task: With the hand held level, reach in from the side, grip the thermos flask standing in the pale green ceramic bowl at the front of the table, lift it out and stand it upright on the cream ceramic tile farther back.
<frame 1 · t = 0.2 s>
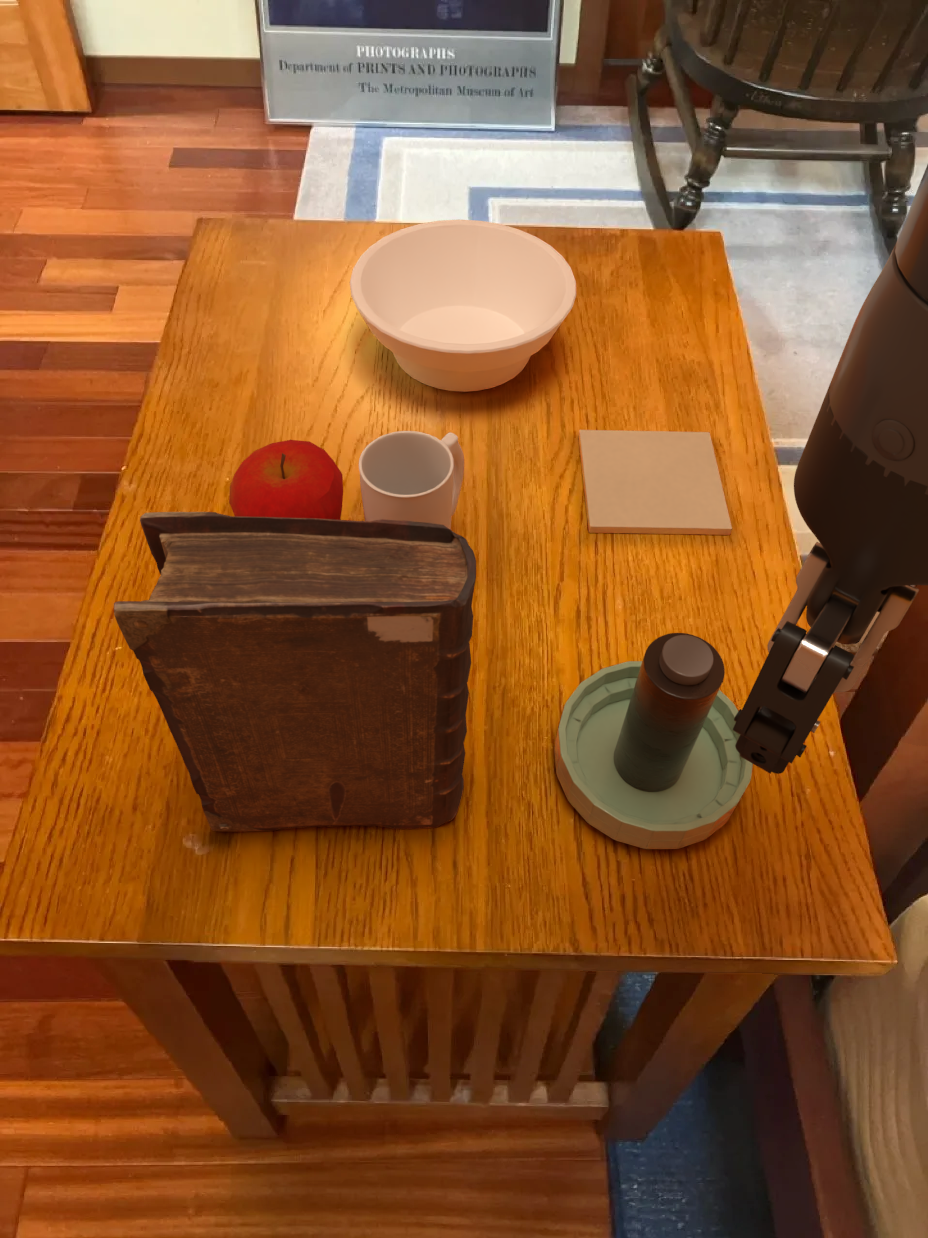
hand: (800, 691, 42), 23 cm above the table, tool pointing down, fingers open, 8 cm apart
thermos flask: (647, 761, 65), point 1 cm above the table, touching celadon bowl
book: (341, 801, 63), on the table
bowl: (461, 354, 93), on the table
tile: (650, 483, 82), on the table
celadon bowl: (646, 765, 65), on the table
mug: (422, 561, 76), on the table
apple: (300, 562, 76), on the table
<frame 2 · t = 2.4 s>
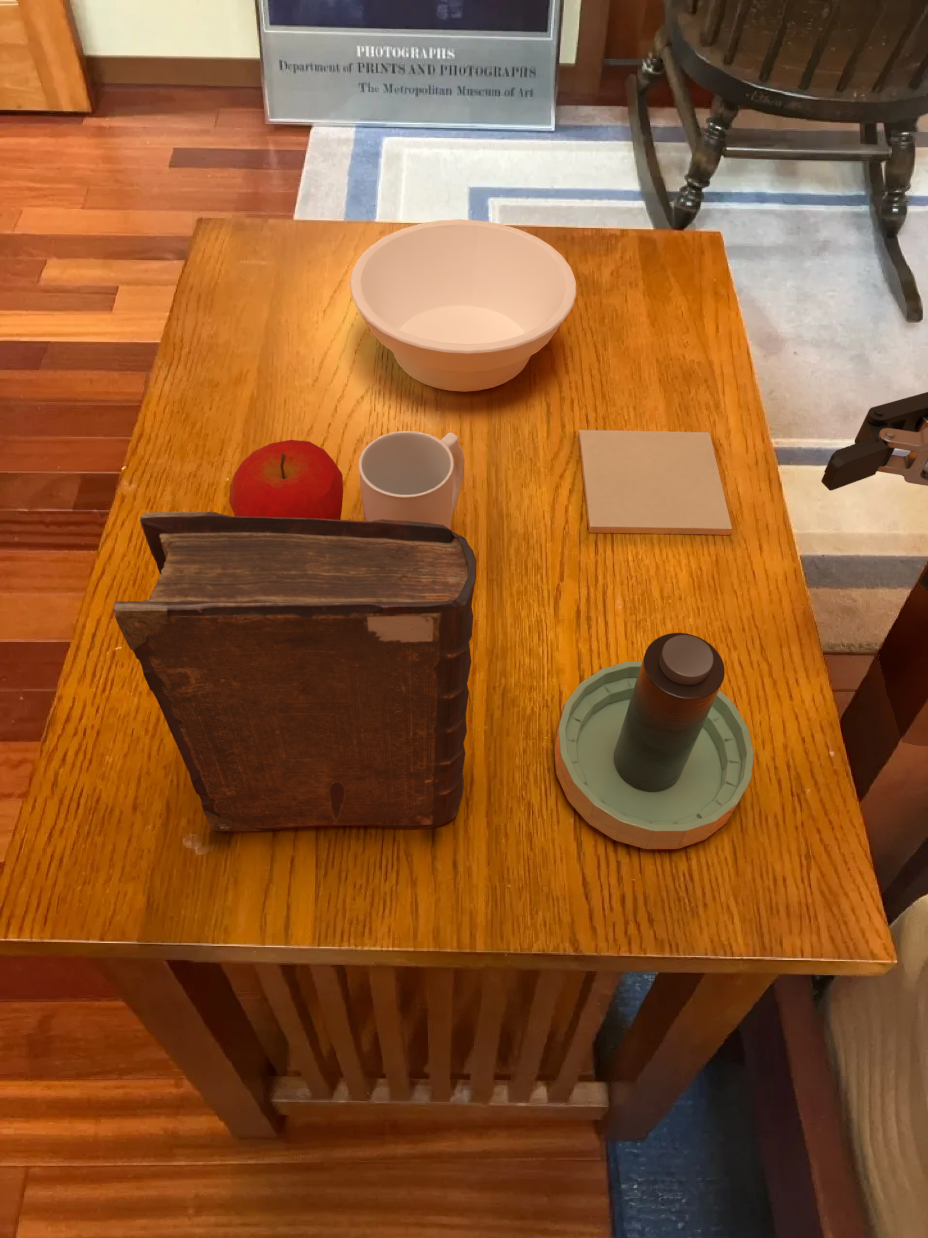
hand: (876, 524, 52), 20 cm above the table, tool horizontal, fingers open, 8 cm apart
nothing on the table moved.
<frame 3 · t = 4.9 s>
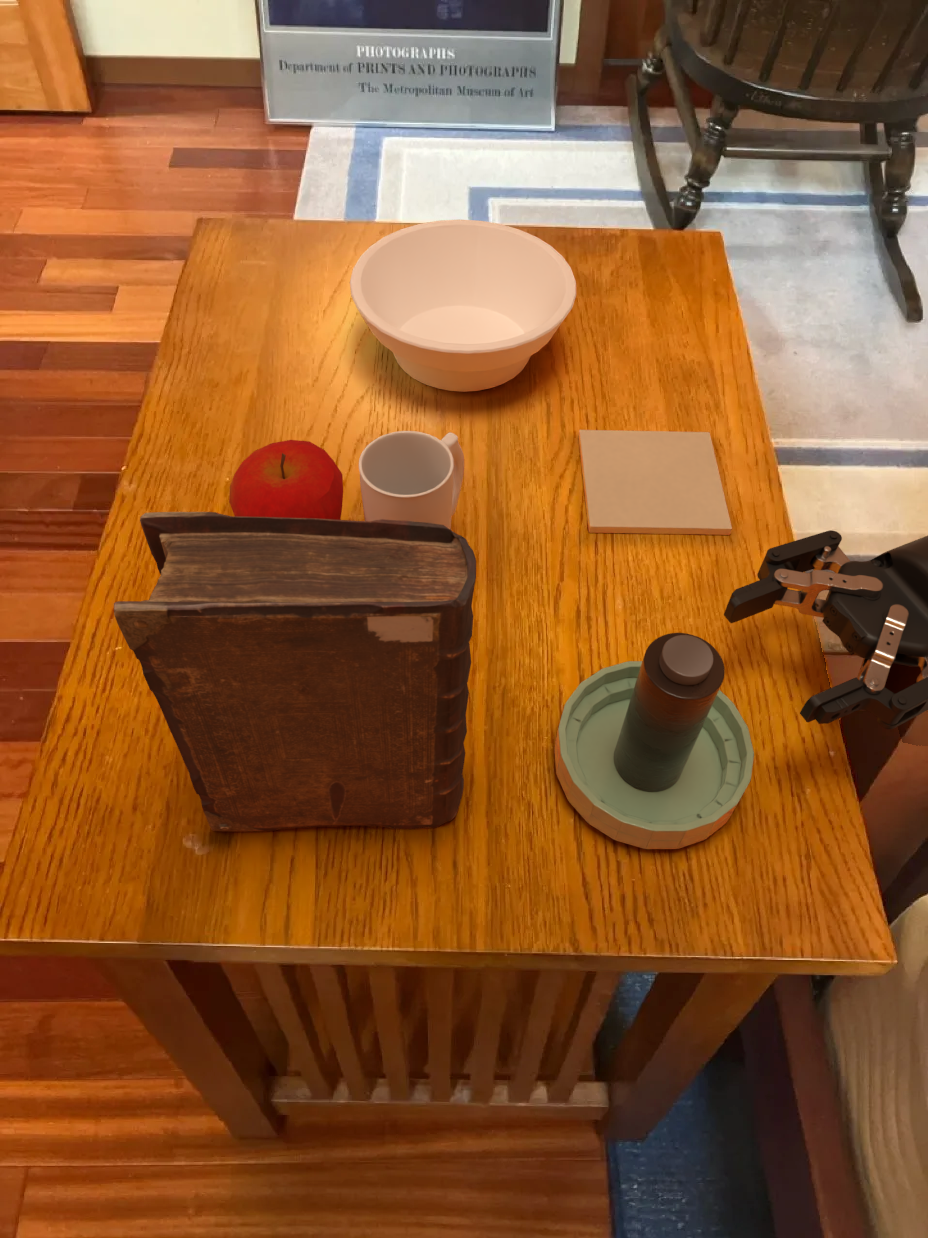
hand: (766, 659, 60), 9 cm above the table, tool horizontal, fingers open, 8 cm apart
nothing on the table moved.
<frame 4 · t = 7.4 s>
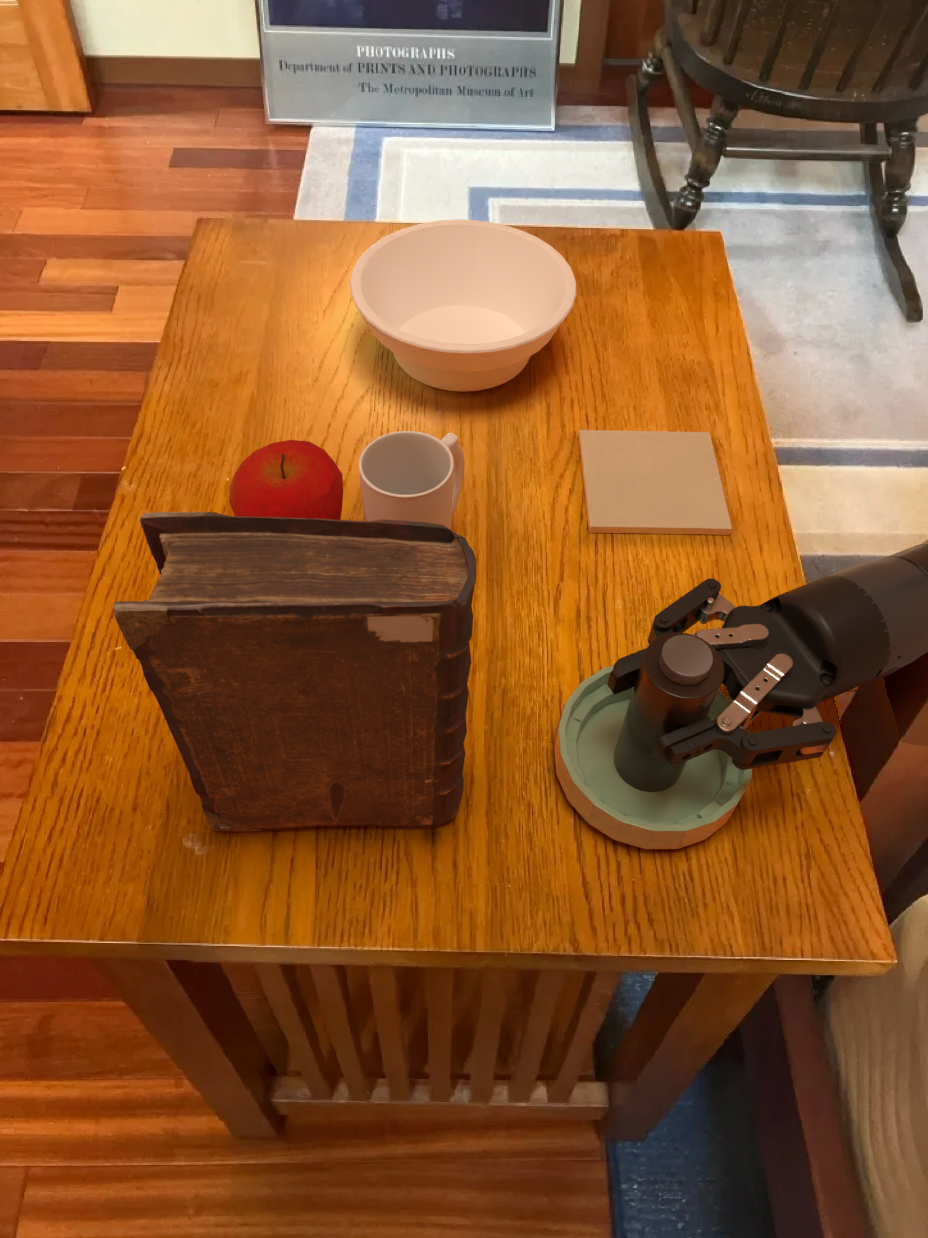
hand: (634, 716, 58), 9 cm above the table, tool horizontal, fingers closed on thermos flask, 5 cm apart
thermos flask: (647, 761, 65), point 1 cm above the table, touching celadon bowl, gripper
everything else where it was.
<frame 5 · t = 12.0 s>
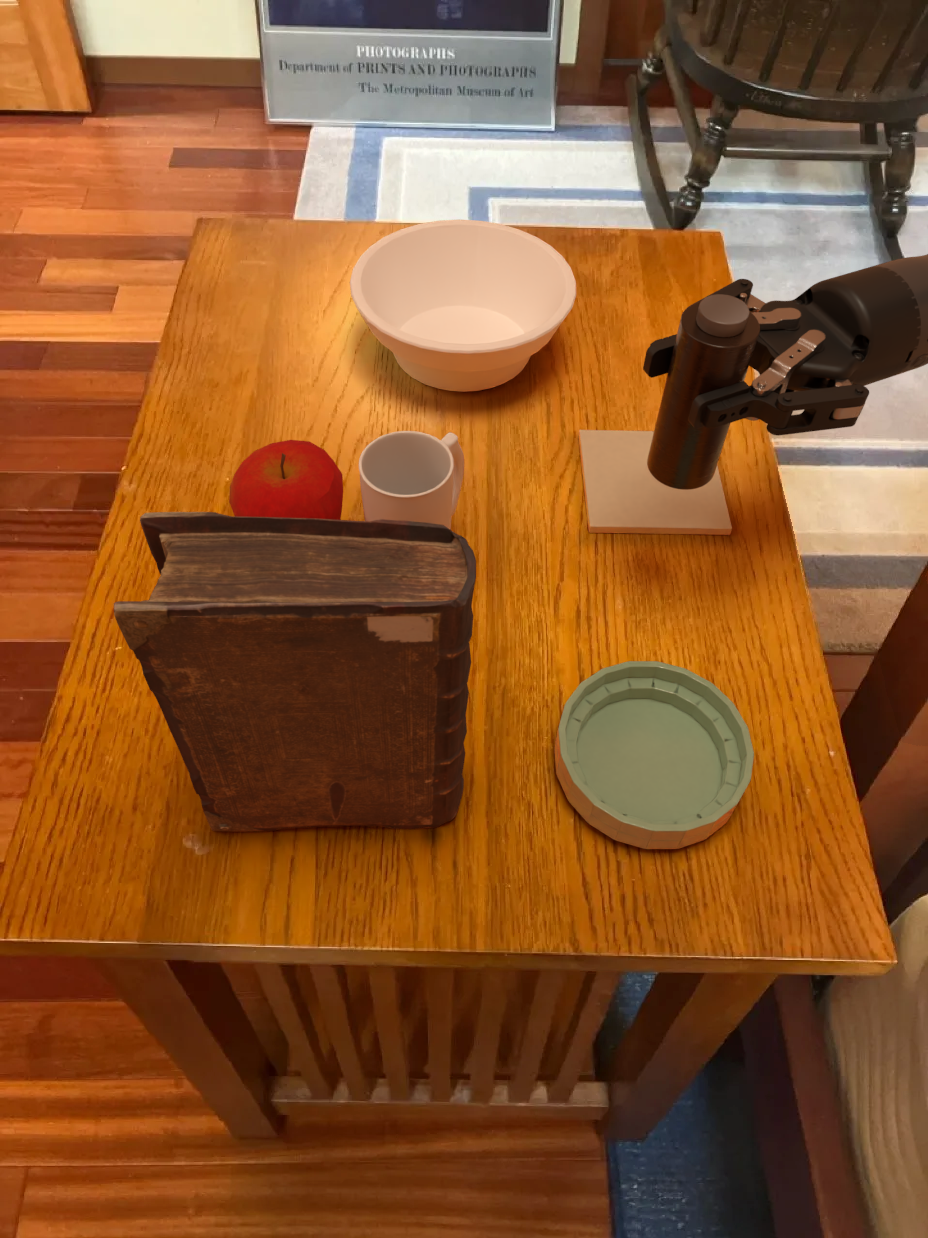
hand: (671, 387, 59), 20 cm above the table, tool horizontal, fingers closed on thermos flask, 5 cm apart
thermos flask: (680, 465, 66), point 12 cm above the table, touching gripper
everything else where it was.
when the fingers open (9 cm above the table, at t = 16.8 s): thermos flask stays where it is, resting on tile.
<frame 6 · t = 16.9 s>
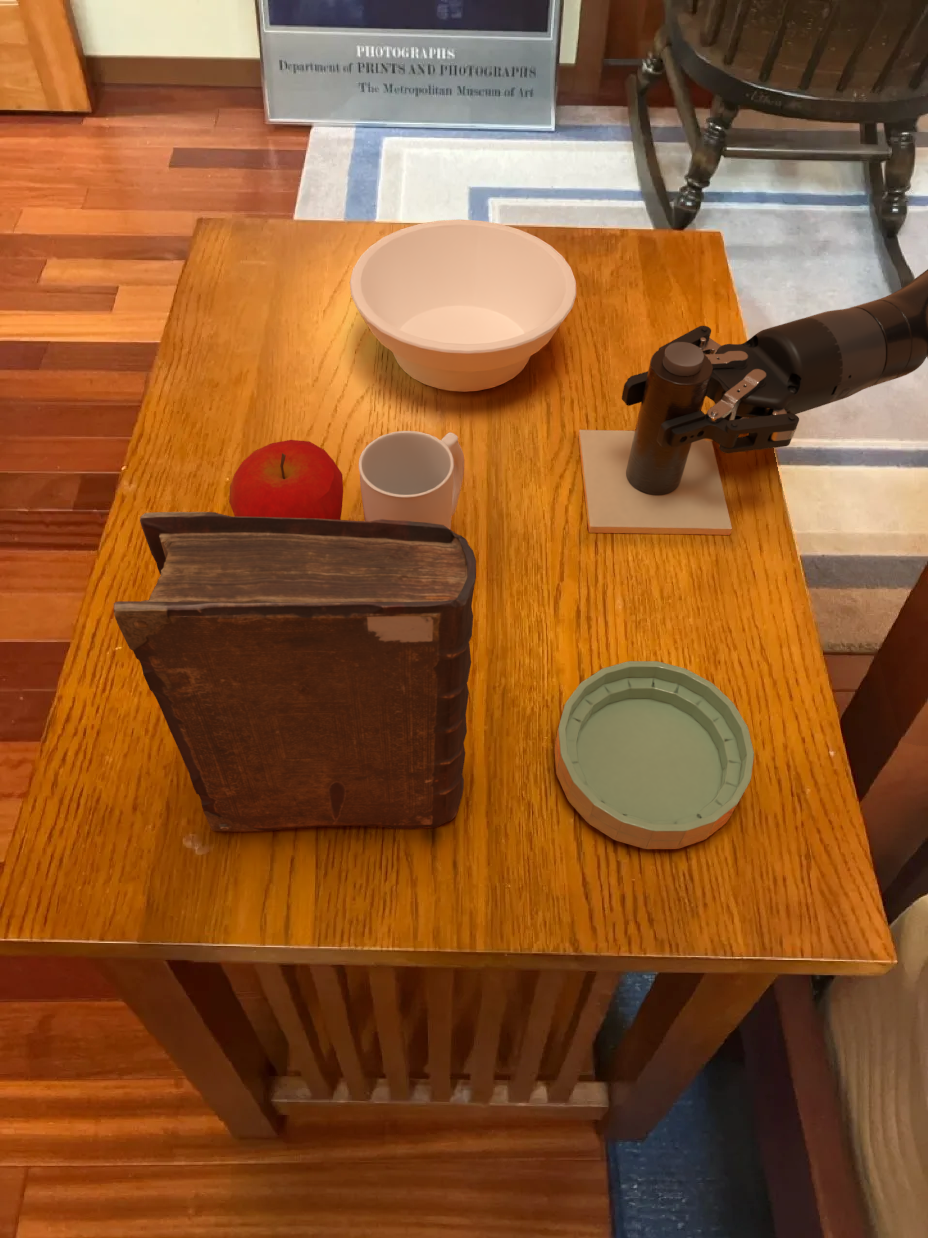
hand: (643, 414, 75), 9 cm above the table, tool horizontal, fingers open, 5 cm apart
thermos flask: (653, 476, 82), point 1 cm above the table, touching tile
everything else where it was.
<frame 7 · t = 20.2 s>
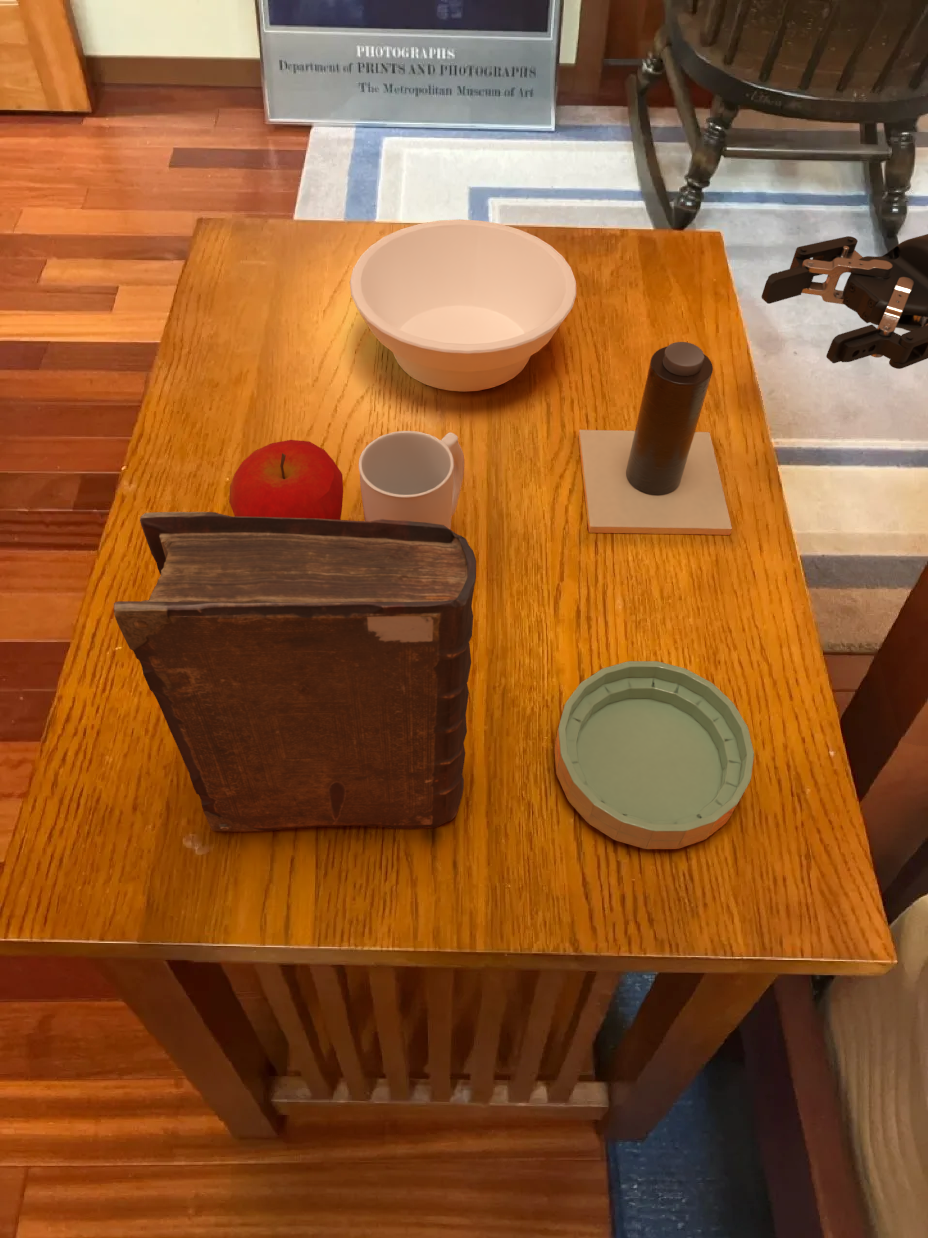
hand: (798, 319, 74), 14 cm above the table, tool horizontal, fingers open, 8 cm apart
nothing on the table moved.
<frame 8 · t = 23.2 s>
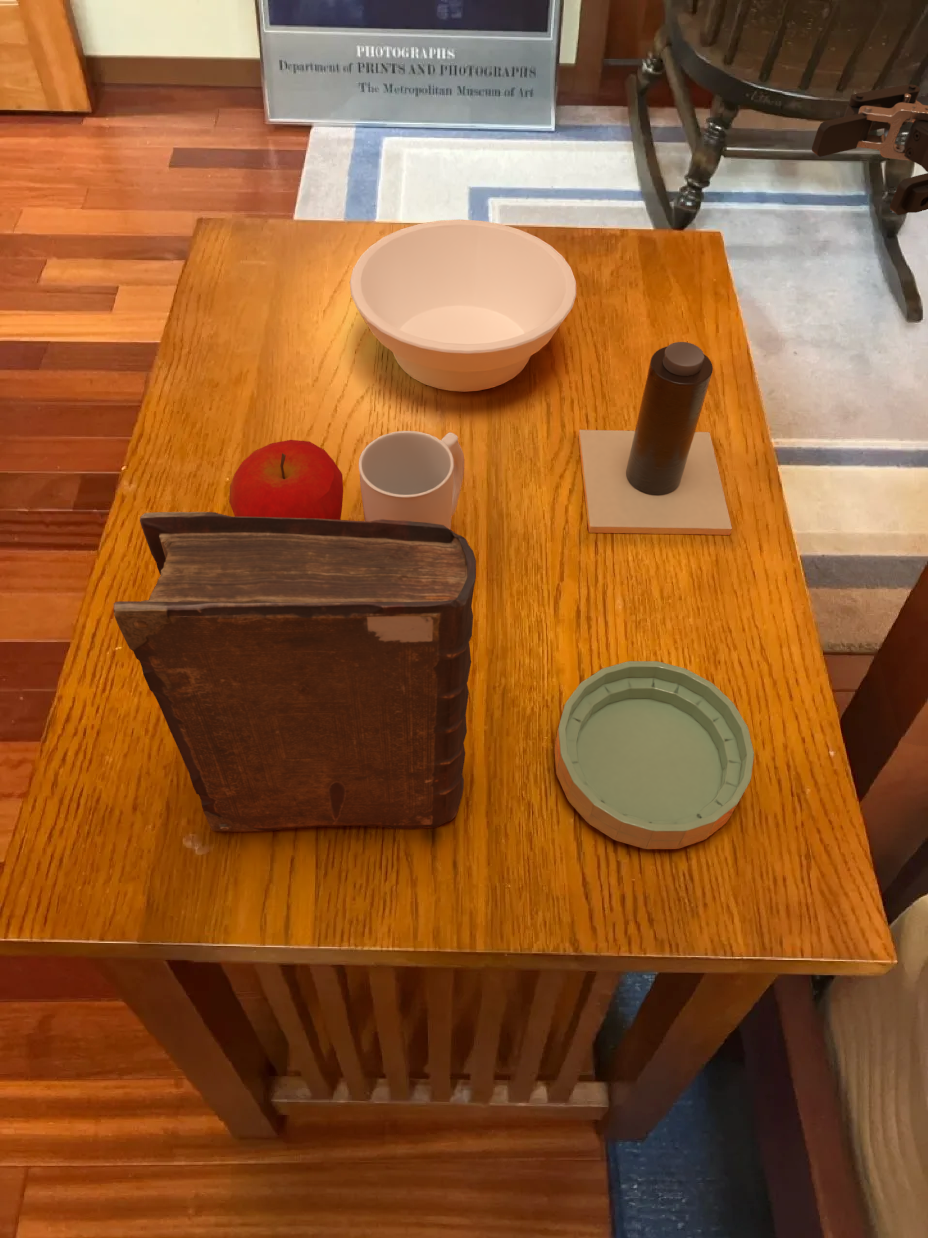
hand: (856, 168, 64), 26 cm above the table, tool horizontal, fingers open, 8 cm apart
nothing on the table moved.
at the end: thermos flask inside the target area on the tile (0.1 cm from its centre), point 0.8 cm above the tile's base; thermos flask tilted 0°; the gripper is holding nothing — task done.
